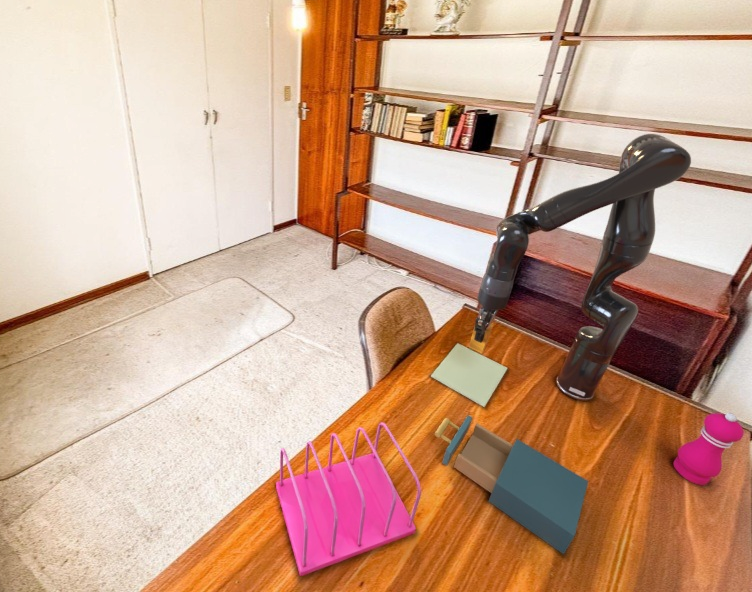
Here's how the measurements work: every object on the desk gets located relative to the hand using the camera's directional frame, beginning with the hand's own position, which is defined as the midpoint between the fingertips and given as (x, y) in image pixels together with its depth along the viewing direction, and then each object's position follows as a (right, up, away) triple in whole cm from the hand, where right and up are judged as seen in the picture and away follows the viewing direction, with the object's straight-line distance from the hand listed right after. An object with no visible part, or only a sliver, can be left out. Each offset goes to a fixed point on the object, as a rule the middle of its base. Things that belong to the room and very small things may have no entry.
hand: (480, 337), depth 115 cm
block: (0, -4, +2) cm, 4 cm away
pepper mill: (+41, -27, -20) cm, 53 cm away
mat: (0, -13, +6) cm, 14 cm away
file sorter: (-44, -29, -31) cm, 61 cm away
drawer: (-11, -24, -20) cm, 33 cm away
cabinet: (-1, -29, -28) cm, 40 cm away
